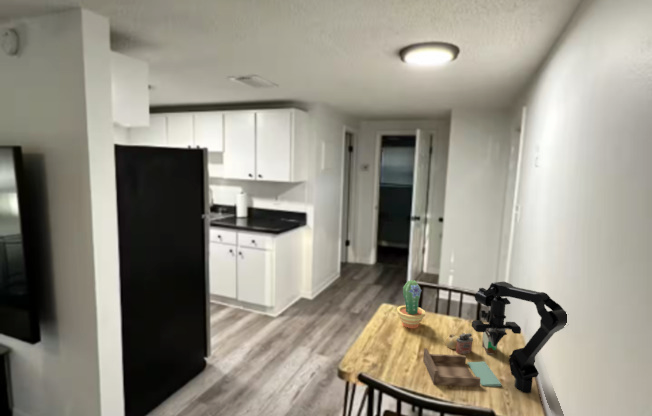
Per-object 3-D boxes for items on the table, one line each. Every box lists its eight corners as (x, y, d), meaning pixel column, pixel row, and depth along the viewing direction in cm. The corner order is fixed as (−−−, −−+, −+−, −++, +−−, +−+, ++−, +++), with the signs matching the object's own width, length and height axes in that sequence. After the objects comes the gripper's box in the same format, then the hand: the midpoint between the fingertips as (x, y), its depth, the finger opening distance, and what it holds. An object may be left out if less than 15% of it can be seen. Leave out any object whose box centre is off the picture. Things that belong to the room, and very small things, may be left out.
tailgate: (482, 384, 142) (501, 383, 142) (467, 362, 158) (484, 361, 158) (482, 386, 142) (501, 386, 142) (467, 364, 158) (484, 363, 158)
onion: (454, 343, 178) (456, 329, 177) (466, 351, 171) (467, 337, 170) (441, 345, 175) (442, 332, 174) (452, 354, 168) (453, 339, 167)
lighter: (458, 357, 165) (460, 336, 164) (453, 353, 169) (455, 333, 167) (473, 355, 167) (475, 334, 166) (468, 351, 171) (470, 331, 169)
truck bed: (433, 387, 142) (434, 370, 141) (423, 363, 159) (424, 348, 158) (479, 389, 142) (481, 372, 141) (464, 365, 159) (465, 350, 158)
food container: (501, 360, 164) (503, 339, 163) (487, 358, 165) (489, 337, 164) (494, 346, 176) (496, 327, 175) (481, 345, 177) (483, 325, 176)
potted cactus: (393, 327, 193) (395, 282, 190) (399, 316, 207) (401, 274, 204) (422, 333, 187) (425, 287, 184) (426, 322, 201) (429, 278, 198)
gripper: (510, 304, 160) (507, 337, 162) (468, 302, 161) (465, 335, 163) (523, 314, 149) (519, 350, 151) (478, 313, 150) (474, 348, 152)
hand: (494, 345), depth 154 cm, fingers closed
